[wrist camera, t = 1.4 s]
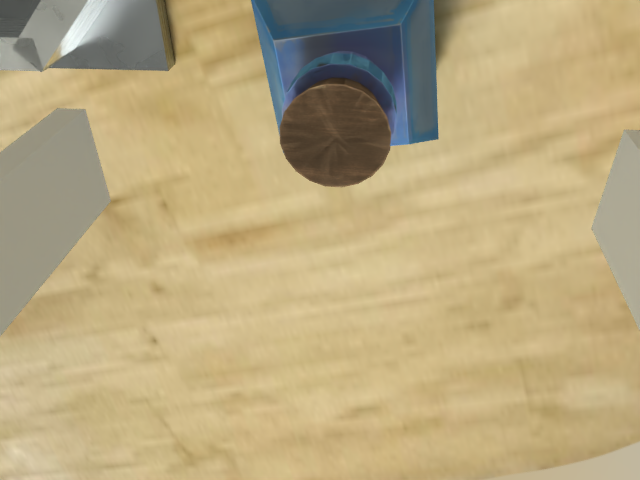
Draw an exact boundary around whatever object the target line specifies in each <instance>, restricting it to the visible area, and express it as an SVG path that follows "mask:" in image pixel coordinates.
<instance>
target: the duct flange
mask: <svg viewBox="0 0 640 480" xmlns="http://www.w3.org/2000/svg"><path fill="white" fill-rule="evenodd" d="M174 65H175V60H174V54H173V48H172V42H171V36H170V30H169V24H168V18H167V13H166V7H165V1H164V0H0V70H20V71H40V72H42V71H44V70H46V69H47V68H75V69H117V70H158V71H169V70H170V69H171V68H172V67H173V66H174Z"/></svg>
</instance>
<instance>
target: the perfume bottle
mask: <svg viewBox="0 0 640 480" xmlns="http://www.w3.org/2000/svg"><path fill="white" fill-rule="evenodd" d="M251 2H252V7H253V11H254V16H255V21H256V26H257V30H258V35H259V40H260V44H261V49H262V54H263V59H264V63H265V68H266V73H267V78H268V82H269V87H270V92H271V97H272V101H273V106H274V111H275V116H276V120H277V125H278V130H279V134H280V144H281V147H282V149H283V153H284V155H285V157H286V159H287V160H288V162H289V163H290V164H291V165H292V167H293V168H294V169H295V170H296V171H297V172H298V173H299V174H301V175H302V176H304V177H305V178H307V179H308V180H309V181H312V182H315V183H318V184H321V185H324V186H331V187H345V186H350V185H354V184H358V183H360V182H362V181H364V180H366V179H367V178H369V177H371V176H373V175H374V173H375V172H376V171H377V170H378V169H379V168H380V167H381V166H382V165H383V164H384V162H385V159H386V157H387V155H388V153H389V151H390V146H394V145H405V144H413V143H419V142H424V141H430V140H436V139H438V112H437V82H436V53H435V24H434V0H251Z"/></svg>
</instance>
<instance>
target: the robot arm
mask: <svg viewBox="0 0 640 480" xmlns="http://www.w3.org/2000/svg"><path fill="white" fill-rule="evenodd" d="M110 201H111V200H110V196H109V192H108V189H107V185H106V182H105V178H104V175H103V171H102V167H101V164H100V160H99V157H98V153H97V150H96V146H95V142H94V139H93V135H92V132H91V128H90V125H89V121H88V117H87V114H86V110H85V109H63V108H57V109H56V110H54V111H53V112H52V113H51V114H49V115H48V116H47V117H45V118H44V119H43V120H41V121H40V122H39V123H38V124H36V125H35V126H34V127H32V128H31V129H30V130H29V131H27V132H26V133H25V134H23V135H22V136H21V137H19V138H18V139H17V140H16V141H14V142H13V143H12V144H10V145H9V146H8V147H7V148H5V149H4V150H3V151H1V152H0V336H1V335H2V334H3V332H4V331H5V330H6V329H7V327H8V326H9V325H10V324H11V323H12V321H13V320H14V319H15V318H16V316H17V315H18V314H19V313H20V312H21V310H22V309H23V308H24V307H25V305H26V304H27V303H28V302H29V301H30V299H31V298H32V297H33V296H34V294H35V293H36V292H37V291H38V289H39V288H40V287H41V286H42V285H43V283H44V282H45V281H46V280H47V278H48V277H49V276H50V275H51V274H52V272H53V271H54V270H55V269H56V267H57V266H58V265H59V264H60V263H61V261H62V260H63V259H64V258H65V256H66V255H67V254H68V253H69V251H70V250H71V249H72V248H73V247H74V245H75V244H76V243H77V242H78V240H79V239H80V238H81V237H82V236H83V234H84V233H85V232H86V231H87V229H88V228H89V227H90V226H91V225H92V223H93V222H94V221H95V220H96V218H97V217H98V216H99V215H100V213H101V212H102V211H103V210H104V209H105V207H106V206H107V205H108V204H109V202H110ZM592 230H593V233H594V235H595V237H596V239H597V241H598V243H599V245H600V247H601V250H602V252H603V254H604V256H605V258H606V260H607V262H608V264H609V267H610V269H611V271H612V273H613V275H614V277H615V279H616V281H617V284H618V286H619V288H620V290H621V292H622V294H623V296H624V298H625V300H626V303H627V305H628V307H629V309H630V311H631V313H632V315H633V317H634V320H635V322H636V324H637V326H638V328H639V330H640V130H624V132H623V135H622V138H621V141H620V144H619V147H618V150H617V153H616V156H615V159H614V162H613V165H612V168H611V171H610V174H609V177H608V180H607V183H606V186H605V189H604V192H603V195H602V198H601V201H600V204H599V207H598V210H597V213H596V216H595V219H594V222H593V225H592Z"/></svg>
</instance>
